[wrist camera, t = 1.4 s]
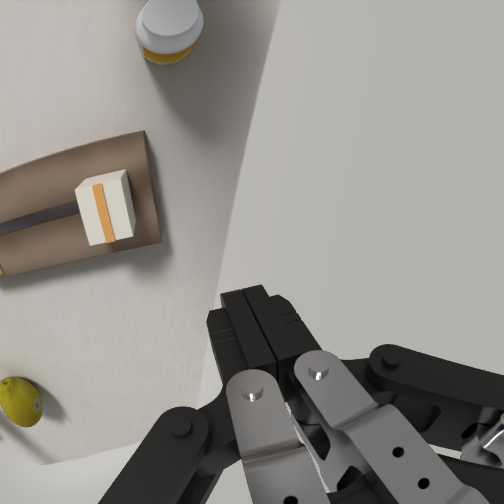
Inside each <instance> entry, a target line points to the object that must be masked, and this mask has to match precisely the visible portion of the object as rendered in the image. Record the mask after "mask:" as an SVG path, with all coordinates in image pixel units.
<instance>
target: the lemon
mask: <svg viewBox="0 0 504 504" xmlns="http://www.w3.org/2000/svg"><path fill="white" fill-rule="evenodd" d="M0 404H1V407H2V409H3V411H4V413H5V414H6V415H7V417H8V418H9V419H10V420H11V421H12V422H14V423H15V424H17V425H19V426H22V427H31V426H33V425H35V424H36V423H37V422H38V421H39V420H40V418H41V415H42V401H41V398H40V396H39V394H38V392H37V390H36V389H35V388H34V386H33V385H32V384H30V383H29V382H28V381H26V380H24V379H22V378H19V377H13V376H12V377H8V378H5V379H3V380H1V382H0Z"/></svg>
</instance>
